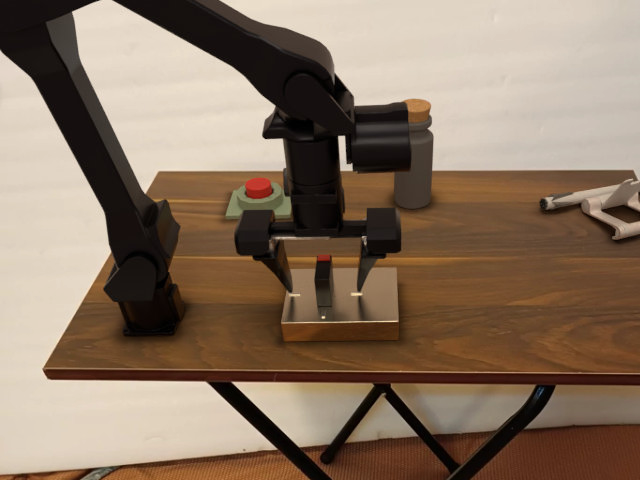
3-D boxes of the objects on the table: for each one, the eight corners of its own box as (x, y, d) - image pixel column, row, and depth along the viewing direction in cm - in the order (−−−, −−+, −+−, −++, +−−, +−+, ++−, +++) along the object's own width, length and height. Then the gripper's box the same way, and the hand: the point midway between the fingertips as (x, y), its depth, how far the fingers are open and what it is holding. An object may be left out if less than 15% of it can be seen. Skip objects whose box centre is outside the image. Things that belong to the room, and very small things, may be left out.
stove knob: (331, 306, 77) (329, 277, 74) (317, 306, 77) (313, 277, 74) (333, 281, 80) (331, 253, 77) (319, 281, 80) (316, 253, 77)
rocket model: (546, 209, 95) (712, 179, 102) (543, 193, 95) (710, 164, 101) (539, 213, 97) (701, 183, 104) (536, 197, 97) (699, 169, 104)
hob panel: (284, 341, 77) (280, 321, 75) (292, 287, 85) (289, 267, 83) (398, 340, 77) (398, 320, 75) (396, 285, 85) (396, 266, 82)
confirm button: (244, 200, 97) (243, 190, 96) (248, 187, 100) (246, 177, 99) (270, 200, 97) (269, 189, 96) (273, 187, 100) (272, 177, 99)
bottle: (387, 196, 101) (386, 102, 91) (418, 187, 103) (421, 93, 93) (405, 213, 98) (407, 116, 87) (437, 203, 100) (443, 107, 89)
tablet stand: (672, 226, 91) (634, 232, 99) (664, 171, 90) (627, 181, 98) (621, 238, 89) (587, 244, 97) (613, 182, 88) (579, 192, 96)
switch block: (225, 219, 97) (222, 205, 96) (234, 193, 103) (231, 179, 101) (290, 218, 97) (288, 204, 96) (295, 192, 103) (293, 178, 101)
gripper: (399, 138, 73) (398, 252, 84) (238, 141, 73) (259, 254, 84) (402, 185, 65) (400, 304, 76) (221, 188, 65) (246, 307, 76)
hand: (325, 290), depth 78 cm, fingers open, 8 cm apart
